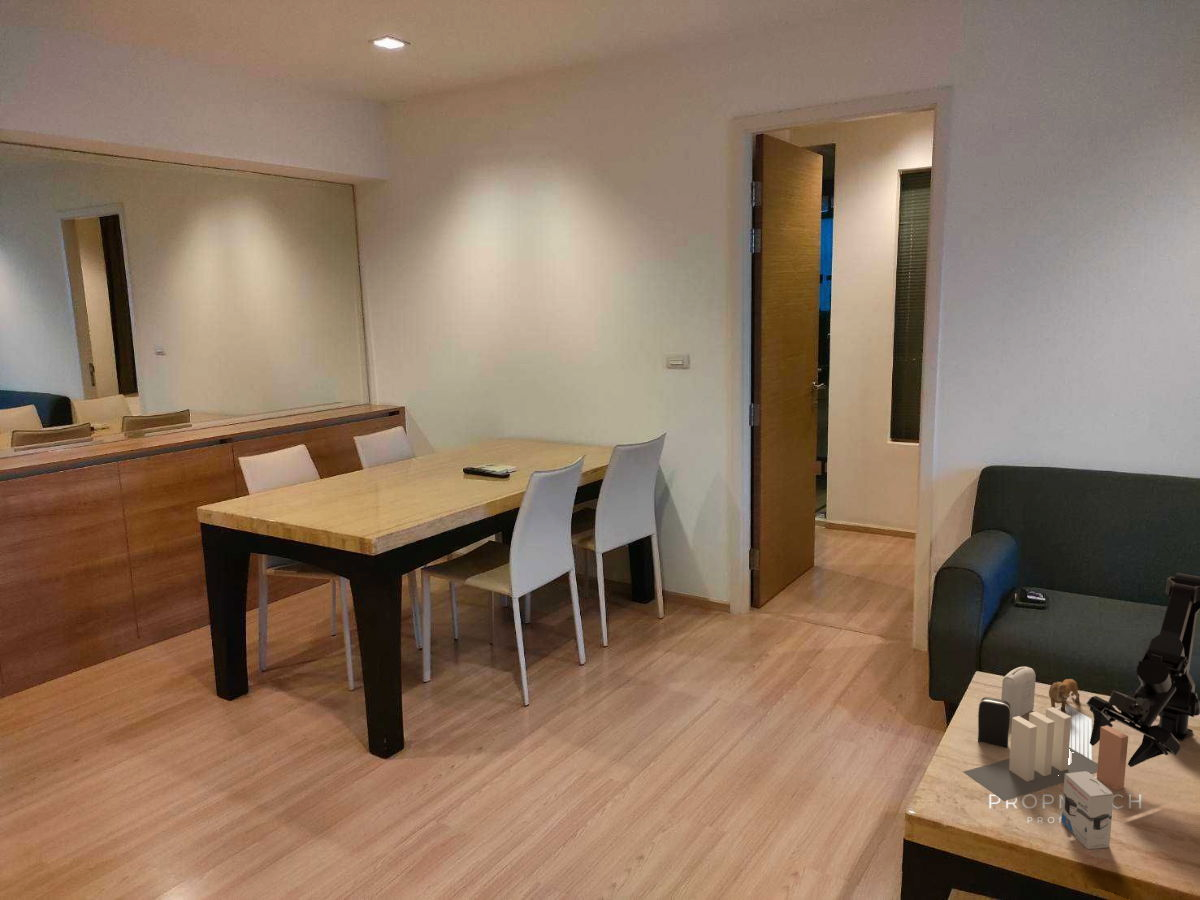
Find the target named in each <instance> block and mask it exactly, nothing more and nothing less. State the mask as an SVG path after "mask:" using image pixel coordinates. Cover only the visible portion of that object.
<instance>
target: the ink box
mask: <svg viewBox="0 0 1200 900" xmlns="http://www.w3.org/2000/svg"><path fill="white" fill-rule="evenodd" d="M1114 798H1115V797H1114V794H1113V792H1112V791H1111V790H1110V789H1109V788H1108V787H1107V786H1105V785H1104V784H1103V782H1102V781H1100V780H1099V779H1097V777H1095V776H1094V774H1090V773H1089V772H1086V771H1082V772H1072V773H1065V778H1064V783H1063V793H1062V808H1061V824H1063V825H1064V826H1065V827H1066V828H1067V829H1068V830H1069V831H1070V832H1071V833H1073V834H1074V835H1073V836H1074V838H1075V839H1076V840H1077V841H1079V842H1080V844H1082V845H1083V846H1084V847H1085V848H1086V849H1087V850H1094V849H1104V848H1110V847H1111V846H1110V844H1111V833H1112V832H1111V831H1112V820H1113V819H1112V817H1113V808H1114V807H1113V806H1114Z"/></svg>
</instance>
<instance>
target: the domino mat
mask: <svg viewBox="0 0 1200 900" xmlns="http://www.w3.org/2000/svg"><path fill="white" fill-rule="evenodd" d="M1069 749H1070V751H1071V752H1074V753H1072V763H1071V764H1070V765H1068V769H1067V770H1064V771H1060V770H1058V769H1056V768H1055V767H1053V766H1051V774H1050V775H1047V776H1043V775H1041V774H1040V773H1038V772H1037V771H1035V770H1034V780H1030V781H1025V780H1024V779H1022V778H1021V777H1019V776H1018V775H1016V774H1015V773H1013V772H1012V771H1010V770H1009V763H1010V757H1009V758H1005V759H1003V760H999V761H995V762H992V763H988V764H985V765H983V766H982V765H981V766H978V767H974V768H971V769H968V770H965V771H963V773H964V774H965V775H966V776H968V777H970V778H971V779H972V780H973V781H975V782H976V783H978V784H979V785H980V786H982V787H983V788H985V789H986V790H988V791H989V792H991V793H992V794H993V795H995V796H996V797H998V798H999V799H1000V800H1002V801H1003V802H1006V801H1009V800H1012V799H1015V798H1018V797H1022V796H1025V795H1029V794H1032V793H1035V792H1038V791H1041V790H1044V789H1048V788H1050V787H1055V786H1058V785H1062V784H1064V778H1065V773H1072V772H1082V771H1086V772H1089V773H1090V774H1091V775H1094V774H1097V767H1098V762H1096V761H1094V760H1092V759H1090V758H1089V757H1087V756H1086V755H1084V754H1082V753H1080V752H1078V751H1077V750H1075V749H1073V748H1072V747H1070V746H1069ZM1058 775H1059V776H1058Z"/></svg>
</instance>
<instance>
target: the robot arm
mask: <svg viewBox="0 0 1200 900" xmlns="http://www.w3.org/2000/svg"><path fill="white" fill-rule="evenodd" d="M1165 594H1167V595H1168V602H1167V605H1166V606H1167V607H1166V610H1165V613H1164V617H1163V621H1162V625H1161V627H1160V628H1161V629H1160V631H1159V633H1158V634H1157V635H1155V636H1153V637H1152V638H1151V639H1150V642H1149V645H1148V646H1147V647H1145V649H1144V650H1143V653H1142V655H1141V656H1140V658H1139V661H1138V665H1137V666H1136V673H1137V676H1138V679H1139V682H1140V685H1139V687H1138V688H1137V689H1136V691H1134V690H1131V691H1129V693H1128V694H1125V693H1121V692H1119V691H1116V690H1112V692H1111V694H1110V697H1109V700H1108V701H1107V700H1106V699H1103V698H1101V697H1099V696H1097V695H1094V696H1092V697H1089V699H1088V700H1087V702H1086V705H1087V706H1088V707H1089V711H1090V712H1091V713H1092V715H1093V725H1092V729H1091V730H1092V731H1091V735H1090V739H1089V744H1090V745H1091V746H1092V747H1094V746H1095V745H1096V744H1098V743H1099V742H1100V729H1101V727H1103V726H1106V725H1108V726H1110V727H1112V728H1113V726H1114V725H1113V724H1112V722H1115V721H1117V722H1119V723H1122V724H1124V725H1125V726H1127V727H1130V728H1131V729H1133V730H1135V731H1137V732H1139V733H1140V734H1143V736H1142V742H1141V744H1140V745H1139V746H1138V748H1137V749H1136V751H1135V752H1134V753H1133V754H1132V756H1131V757H1130V759H1129V761H1128V762H1127V765H1128V766H1129V768H1133V767H1135V766H1137V765H1139V764H1141V763H1144V762H1145V761H1148V760H1150V759H1153V758H1156V757H1159V756H1161V755H1165V756H1168V755H1169V754H1171V755H1173V756H1176V755H1178V753H1179V751H1180V750H1181V742H1180V741H1184V740H1185V739H1186V738H1188V737H1189V736H1190V735H1192V734H1193V733H1194V730H1192V729H1190V728H1188V727H1189V717H1191V718H1195V716H1199V715H1200V699H1199V698H1198V693H1197V692H1196V691H1195V690H1196V683H1195V682H1194V679H1193V677H1192V675H1191V673H1190V667H1191V661H1192V654H1193V646H1194V640H1195V633H1196V625H1197V618H1198V613H1199V612H1200V576H1198V575H1192V574H1185V573H1181V572H1177V573H1175V576H1171V575H1170V576H1169V577H1167V579H1166V587H1165ZM1115 707H1116V708H1115ZM1157 717H1159V721H1158V722H1159V723H1158V724H1157V725H1156V724H1153V723H1154V722H1155V721H1156V719H1157ZM1152 724H1153V725H1152Z"/></svg>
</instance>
